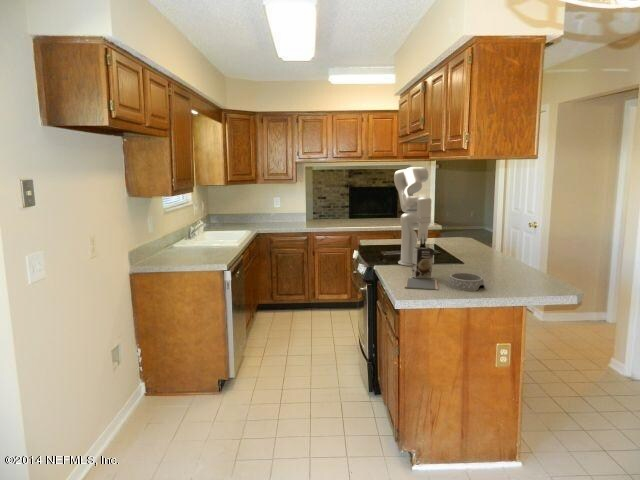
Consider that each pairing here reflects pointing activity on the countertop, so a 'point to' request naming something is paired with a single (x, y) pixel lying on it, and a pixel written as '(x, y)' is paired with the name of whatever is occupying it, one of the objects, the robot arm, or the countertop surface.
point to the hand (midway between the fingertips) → (422, 253)
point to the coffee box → (422, 262)
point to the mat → (421, 284)
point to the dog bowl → (465, 281)
